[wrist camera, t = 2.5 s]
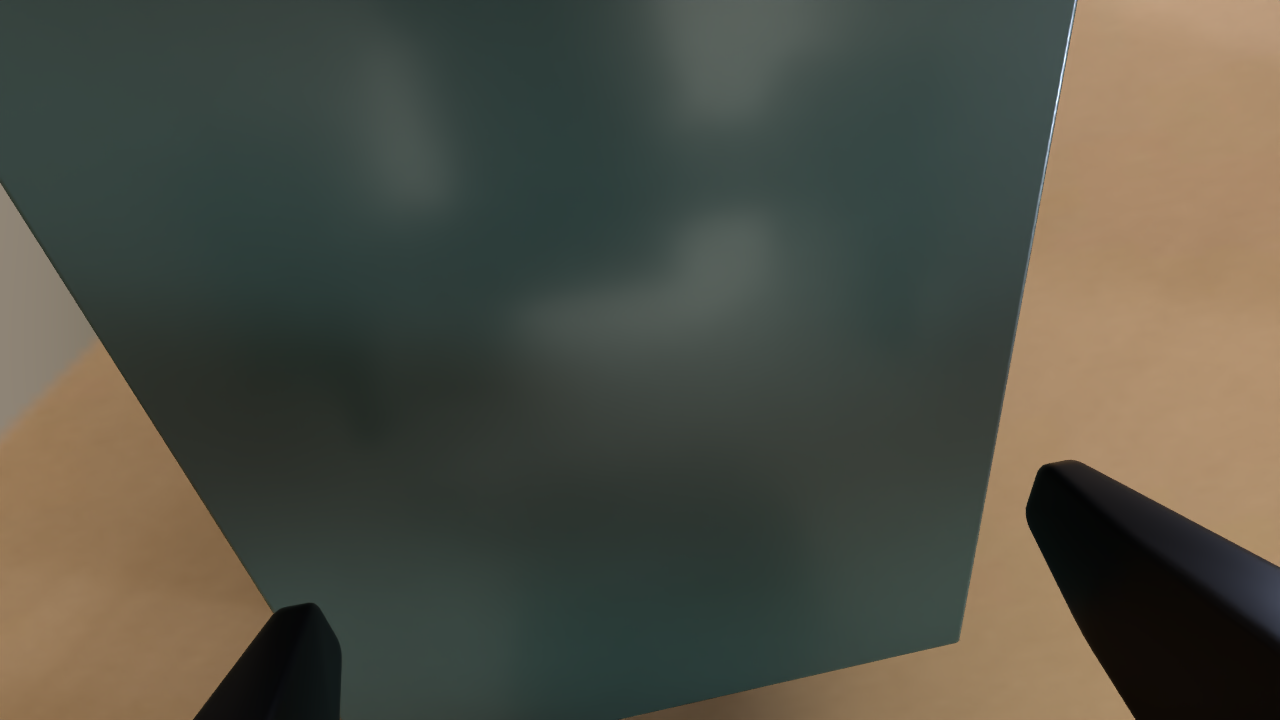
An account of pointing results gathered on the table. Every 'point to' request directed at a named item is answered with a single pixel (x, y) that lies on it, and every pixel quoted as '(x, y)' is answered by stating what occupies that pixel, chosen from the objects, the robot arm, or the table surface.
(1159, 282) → the table surface
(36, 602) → the table surface
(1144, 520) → the robot arm
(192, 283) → the lid
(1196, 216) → the table surface
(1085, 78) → the table surface
